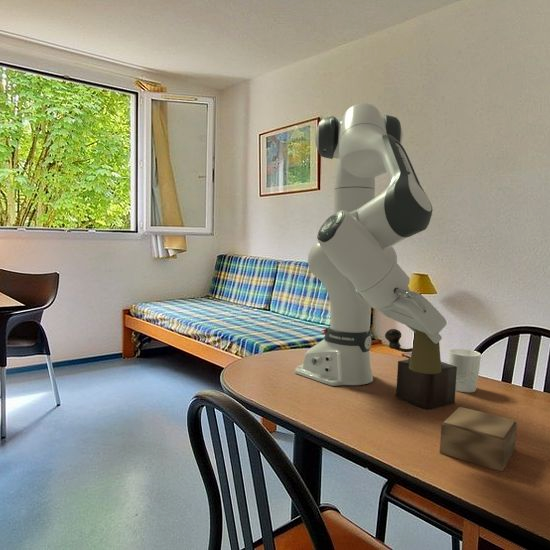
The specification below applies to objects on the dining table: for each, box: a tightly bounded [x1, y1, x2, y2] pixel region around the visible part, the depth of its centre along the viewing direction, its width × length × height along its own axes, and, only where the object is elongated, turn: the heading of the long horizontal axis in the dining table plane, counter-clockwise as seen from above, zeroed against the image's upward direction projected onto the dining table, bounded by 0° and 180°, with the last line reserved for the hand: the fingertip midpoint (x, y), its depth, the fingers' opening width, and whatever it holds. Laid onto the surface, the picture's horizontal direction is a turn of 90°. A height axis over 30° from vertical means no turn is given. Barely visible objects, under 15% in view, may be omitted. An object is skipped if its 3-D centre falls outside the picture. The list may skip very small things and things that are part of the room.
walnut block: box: [439, 406, 518, 472], centre depth 91 cm, size 11×11×6 cm
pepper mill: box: [384, 328, 457, 410], centre depth 117 cm, size 16×11×18 cm
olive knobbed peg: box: [409, 329, 442, 374], centre depth 91 cm, size 6×6×11 cm
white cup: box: [448, 348, 482, 393], centre depth 128 cm, size 8×8×10 cm
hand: (429, 337), depth 91 cm, fingers closed on olive knobbed peg, 4 cm apart
